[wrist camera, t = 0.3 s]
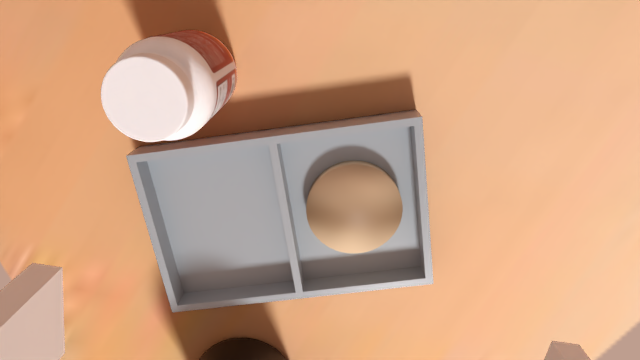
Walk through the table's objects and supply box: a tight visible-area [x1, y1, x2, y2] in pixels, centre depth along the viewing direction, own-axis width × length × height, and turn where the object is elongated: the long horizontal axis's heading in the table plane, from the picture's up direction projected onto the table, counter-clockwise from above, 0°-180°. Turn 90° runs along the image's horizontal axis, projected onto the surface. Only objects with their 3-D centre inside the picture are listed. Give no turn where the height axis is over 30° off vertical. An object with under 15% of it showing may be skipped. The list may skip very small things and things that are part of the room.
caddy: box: [126, 110, 433, 312], centre depth 38 cm, size 14×22×2 cm, turn 98°
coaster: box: [306, 160, 403, 254], centre depth 38 cm, size 8×8×1 cm
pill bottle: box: [101, 30, 237, 142], centre depth 30 cm, size 6×6×11 cm
